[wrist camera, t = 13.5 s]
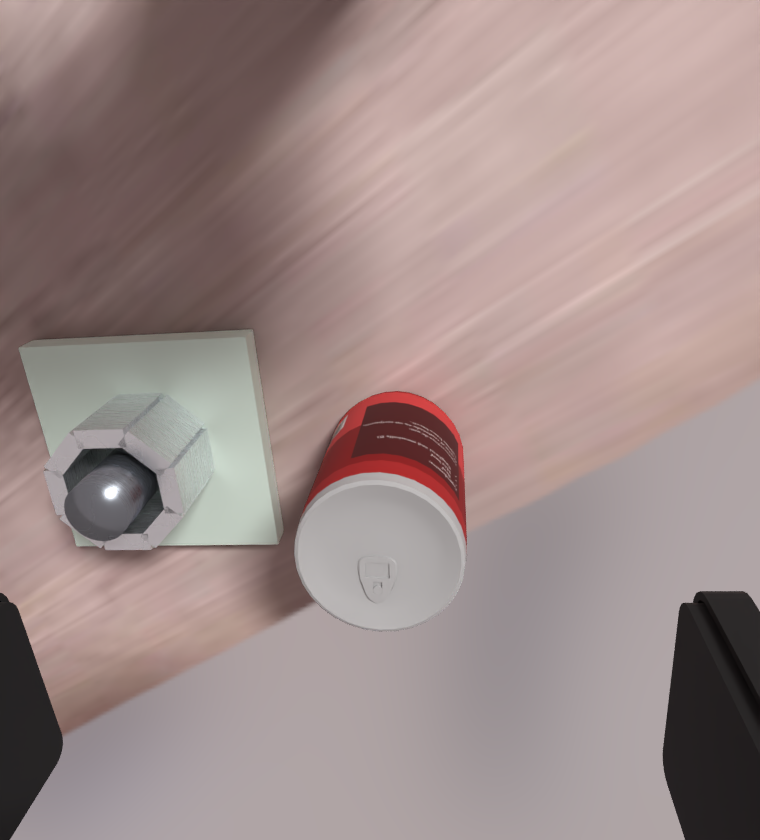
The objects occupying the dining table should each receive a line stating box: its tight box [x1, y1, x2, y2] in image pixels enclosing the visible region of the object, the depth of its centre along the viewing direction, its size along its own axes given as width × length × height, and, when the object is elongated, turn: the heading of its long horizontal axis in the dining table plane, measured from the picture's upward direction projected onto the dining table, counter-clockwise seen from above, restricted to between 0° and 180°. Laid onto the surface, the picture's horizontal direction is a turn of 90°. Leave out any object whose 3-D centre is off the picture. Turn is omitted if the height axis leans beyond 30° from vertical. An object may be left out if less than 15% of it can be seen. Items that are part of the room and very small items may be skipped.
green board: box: [18, 329, 284, 546], centre depth 40 cm, size 13×13×2 cm
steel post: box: [64, 448, 159, 541], centre depth 36 cm, size 3×3×7 cm
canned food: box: [294, 391, 467, 631], centre depth 35 cm, size 8×8×11 cm
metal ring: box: [43, 393, 215, 550], centre depth 37 cm, size 7×7×5 cm
